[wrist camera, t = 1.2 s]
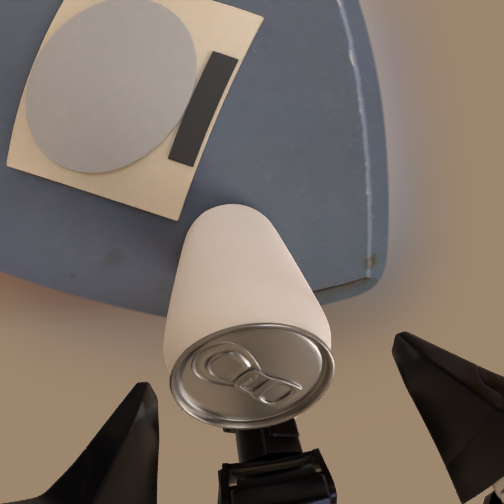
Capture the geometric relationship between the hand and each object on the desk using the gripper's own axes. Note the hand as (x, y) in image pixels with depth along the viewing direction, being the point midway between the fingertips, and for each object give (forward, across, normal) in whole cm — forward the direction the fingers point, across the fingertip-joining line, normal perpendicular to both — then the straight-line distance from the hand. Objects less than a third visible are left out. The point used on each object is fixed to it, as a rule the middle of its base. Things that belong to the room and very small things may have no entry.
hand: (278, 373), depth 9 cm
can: (+12, +1, 0) cm, 12 cm away
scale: (+12, +6, -12) cm, 18 cm away
